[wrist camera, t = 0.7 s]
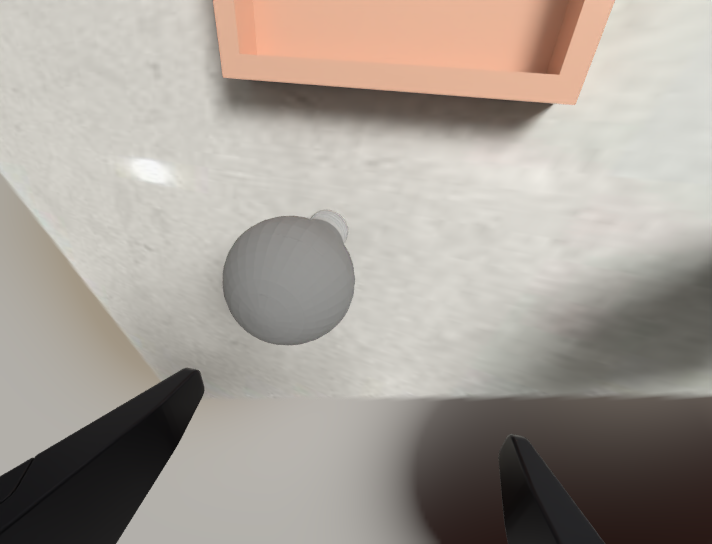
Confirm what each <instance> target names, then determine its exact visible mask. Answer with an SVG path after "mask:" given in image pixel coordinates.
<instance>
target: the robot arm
mask: <svg viewBox="0 0 712 544" xmlns="http://www.w3.org/2000/svg"><path fill="white" fill-rule="evenodd" d="M203 394H204V384H203V380H202V377H201V373H200V371H199V370H196V369H191V368H185V369H182V370H180V371H179V372H177V373H175V374H174V375H172V376H170V377H169V378H167V379H165V380H163V381H162V382H160V383H158V384H157V385H155V386H153V387H152V388H150V389H148V390H147V391H145V392H143V393H141V394H140V395H138V396H136V397H135V398H133V399H131V400H129V401H128V402H126V403H124V404H123V405H121V406H119V407H118V408H116V409H114V410H112V411H111V412H109V413H107V414H106V415H104V416H102V417H101V418H99V419H97V420H95V421H94V422H92V423H90V424H89V425H87V426H85V427H84V428H82V429H80V430H78V431H77V432H75V433H73V434H72V435H70V436H68V437H67V438H65V439H63V440H61V441H60V442H58V443H56V444H55V445H53V446H51V447H50V448H48V449H46V450H45V451H43V452H41V453H39V454H38V455H37V456H35V458H31V459H29V460H27V461H26V462H24V463H22V464H20V465H19V466H17V467H16V468H14V469H12V470H10V471H8V472H7V473H5V474H3V475H2V476H0V544H116V543H117V541H118V540H119V538H120V537H121V535H122V533H123V532H124V530H125V529H126V527H127V525H128V524H129V522H130V521H131V519H132V517H133V516H134V514H135V513H136V511H137V509H138V508H139V506H140V505H141V503H142V501H143V500H144V498H145V497H146V495H147V494H148V492H149V490H150V489H151V487H152V486H153V484H154V482H155V481H156V479H157V478H158V476H159V474H160V473H161V471H162V470H163V468H164V466H165V465H166V463H167V462H168V460H169V458H170V456H171V455H172V454H173V452H174V450H175V449H176V447H177V445H178V443H179V441H180V440H181V438H182V436H183V434H184V432H185V430H186V428H187V426H188V424H189V422H190V420H191V418H192V416H193V414H194V412H195V410H196V408H197V406H198V404H199V402H200V400H201V398H202V396H203ZM499 469H500V479H501V491H502V503H503V514H504V522H505V529H506V535H507V540H508V544H605V543H604V542H603V540H602V539H601V538H600V536H599V535H598V534H597V532H596V531H595V530H594V528H593V527H592V526H591V524H590V523H589V521H588V520H587V519H586V517H585V516H584V515H583V513H582V512H581V511H580V509H579V508H578V507H577V505H576V504H575V503H574V501H573V500H572V499H571V497H570V496H569V495H568V493H567V492H566V490H565V489H564V488H563V486H562V485H561V484H560V482H559V481H558V480H557V478H556V477H555V476H554V474H553V473H552V472H551V470H550V469H549V468H548V466H547V465H546V463H545V462H544V461H543V459H542V458H541V457H540V455H539V454H538V453H537V451H536V450H535V449H534V447H533V446H532V445H531V444H530V442H529V441H528V440H527V439H526V438H525V437H523V436H518V435H513V434H510V435H508V436H507V438H506V440H505V441H504V443H503V445H502V447H501V449H500V451H499Z"/></svg>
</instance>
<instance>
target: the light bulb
mask: <svg viewBox="0 0 712 544" xmlns="http://www.w3.org/2000/svg"><path fill="white" fill-rule="evenodd" d="M347 236H348V227H347V224H346V222H345V220H344V219H343V218H342V216H340V215H339V214H338V213H336V212H334V211H331V210H322V211H319V212H317V213H316V214H315V215H314V216H313V217H312V218H311V219H308V218H305V217H298V216H281V217H276V218H272V219H268V220H264V221H262V222H260V223H258V224H256V225H254V226H253V227H251V228H249V229H248V230H247V231H245V232H244V233H243V234H242V235H241V236H240V237H239V238H238V239H237V240H236V242H235V243H234V245H233V246H232V248H231V249H230V251H229V253H228V256H227V259H226V262H225V265H224V270H223V291H224V297H225V300H226V302H227V305H228V307H229V310H230V312H231V314H232V315H233V317H234V319H235V320H236V321H237V322H238V323H239V325H240V326H241V327H243V328H244V329H245V330H246V331H247V332H249V333H250V334H251V335H253V336H255V337H256V338H258V339H260V340H263V341H265V342H268V343H272V344H277V345H298V344H303V343H306V342H310V341H313V340H316V339H318V338H319V337H321V336H323V335H325V334H327V333H328V332H329V331H331V330H332V329H333V328H334V327H335V326H336V325H337V324H338V323H340V321H341V320H342V319H343V317H344V316H345V314H346V313H347V311H348V309H349V306H350V303H351V300H352V298H353V293H354V284H355V276H354V268H353V263H352V260H351V257H350V254H349V252H348V251H347V249H346V247H345V245H344V242H345V241H346V239H347Z"/></svg>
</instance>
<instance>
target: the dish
mask: <svg viewBox="0 0 712 544" xmlns="http://www.w3.org/2000/svg"><path fill="white" fill-rule="evenodd" d="M614 2H615V0H213V4H214V12H215V20H216V28H217V35H218V43H219V51H220V59H221V66H222V74H223V78H233V79H243V80H254V81H267V82H280V83H293V84H306V85H319V86H332V87H345V88H358V89H370V90H383V91H396V92H409V93H422V94H435V95H448V96H461V97H474V98H487V99H499V100H512V101H525V102H538V103H551V104H569V105H575V104H576V102H577V99H578V96H579V94H580V91H581V88H582V86H583V83H584V81H585V78H586V75H587V73H588V70H589V67H590V65H591V62H592V60H593V57H594V54H595V52H596V49H597V46H598V44H599V41H600V38H601V36H602V33H603V31H604V28H605V25H606V23H607V20H608V17H609V15H610V12H611V10H612V7H613V4H614Z"/></svg>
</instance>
